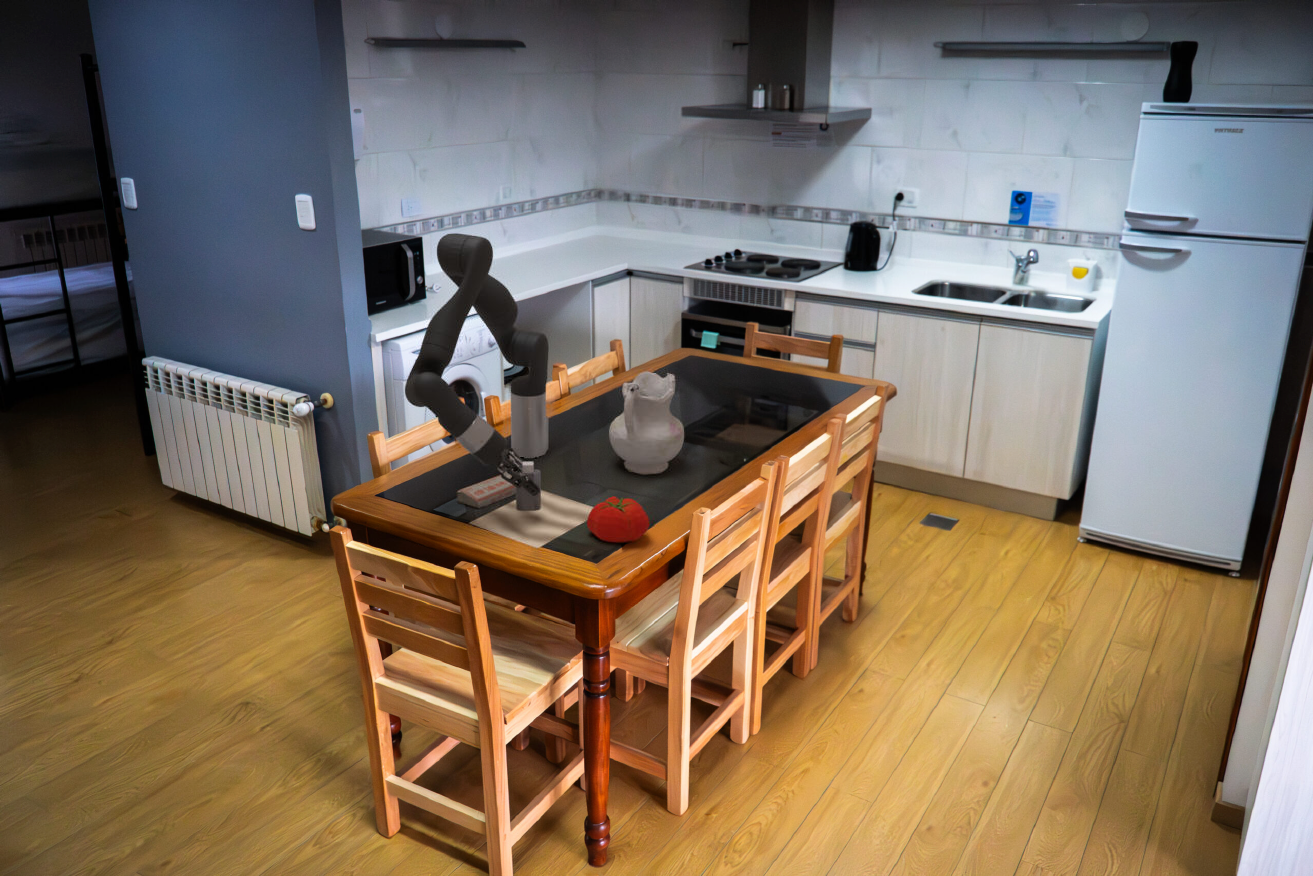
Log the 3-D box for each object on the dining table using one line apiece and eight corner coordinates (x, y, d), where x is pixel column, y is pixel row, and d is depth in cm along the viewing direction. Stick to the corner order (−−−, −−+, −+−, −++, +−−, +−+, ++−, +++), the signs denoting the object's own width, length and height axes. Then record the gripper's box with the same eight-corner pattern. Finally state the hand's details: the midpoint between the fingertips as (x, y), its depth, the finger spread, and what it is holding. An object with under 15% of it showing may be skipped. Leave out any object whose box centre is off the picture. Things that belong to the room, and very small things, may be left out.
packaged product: (504, 467, 248) (531, 478, 242) (504, 485, 249) (532, 497, 244) (445, 488, 235) (473, 500, 229) (446, 507, 236) (474, 520, 231)
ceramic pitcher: (670, 491, 251) (682, 398, 242) (595, 477, 254) (604, 384, 245) (685, 460, 271) (697, 373, 262) (615, 447, 274) (624, 360, 265)
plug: (516, 505, 229) (515, 460, 225) (540, 505, 229) (540, 460, 225) (515, 511, 226) (515, 466, 222) (540, 510, 227) (540, 465, 223)
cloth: (537, 493, 244) (537, 488, 244) (604, 515, 234) (604, 510, 234) (468, 527, 226) (468, 523, 225) (537, 553, 215) (537, 548, 215)
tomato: (648, 525, 230) (649, 490, 227) (649, 550, 219) (650, 514, 216) (587, 523, 230) (588, 488, 227) (585, 549, 218) (586, 512, 215)
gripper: (491, 440, 213) (549, 491, 219) (494, 417, 226) (549, 466, 232) (467, 463, 215) (525, 514, 220) (471, 439, 228) (526, 487, 233)
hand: (537, 489), depth 226 cm, fingers closed on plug, 3 cm apart
